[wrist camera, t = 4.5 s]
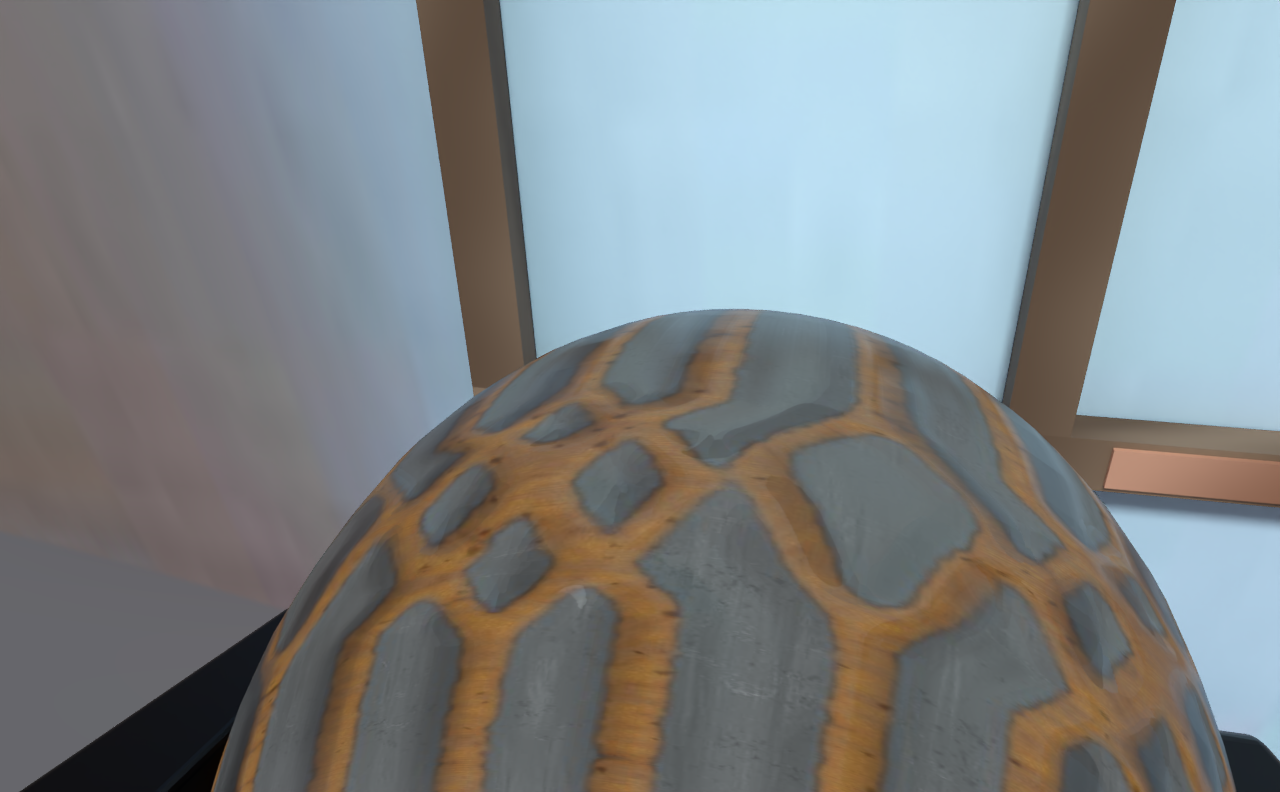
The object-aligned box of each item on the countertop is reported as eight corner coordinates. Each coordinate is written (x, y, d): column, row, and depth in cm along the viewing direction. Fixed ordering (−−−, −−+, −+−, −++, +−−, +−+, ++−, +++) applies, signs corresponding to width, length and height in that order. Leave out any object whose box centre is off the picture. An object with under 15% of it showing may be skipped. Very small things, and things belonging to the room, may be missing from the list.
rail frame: (2189, -253, 12) (2272, -251, 12) (1671, 517, 19) (1703, 550, 18) (406, -204, 17) (384, -201, 16) (490, 412, 23) (477, 435, 22)
